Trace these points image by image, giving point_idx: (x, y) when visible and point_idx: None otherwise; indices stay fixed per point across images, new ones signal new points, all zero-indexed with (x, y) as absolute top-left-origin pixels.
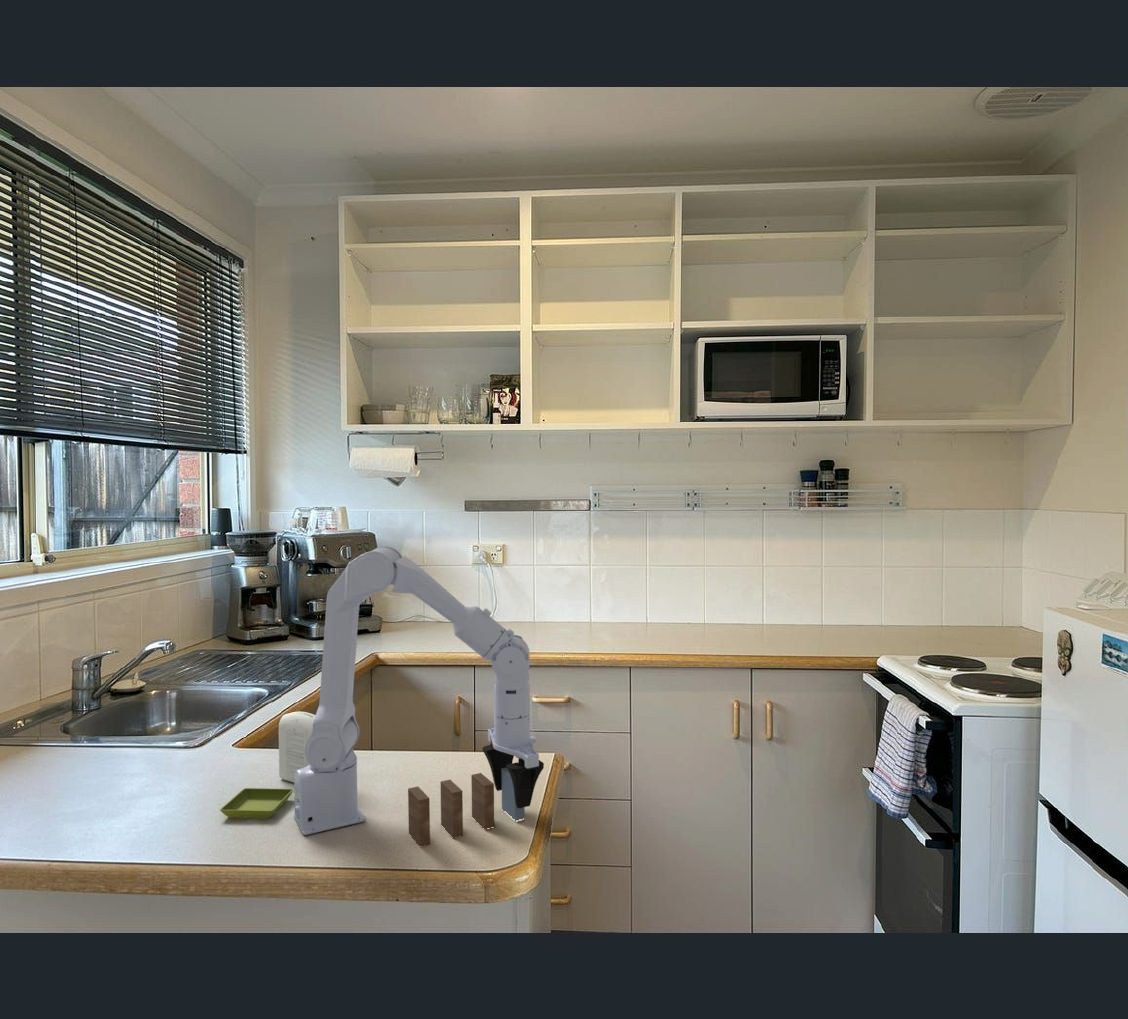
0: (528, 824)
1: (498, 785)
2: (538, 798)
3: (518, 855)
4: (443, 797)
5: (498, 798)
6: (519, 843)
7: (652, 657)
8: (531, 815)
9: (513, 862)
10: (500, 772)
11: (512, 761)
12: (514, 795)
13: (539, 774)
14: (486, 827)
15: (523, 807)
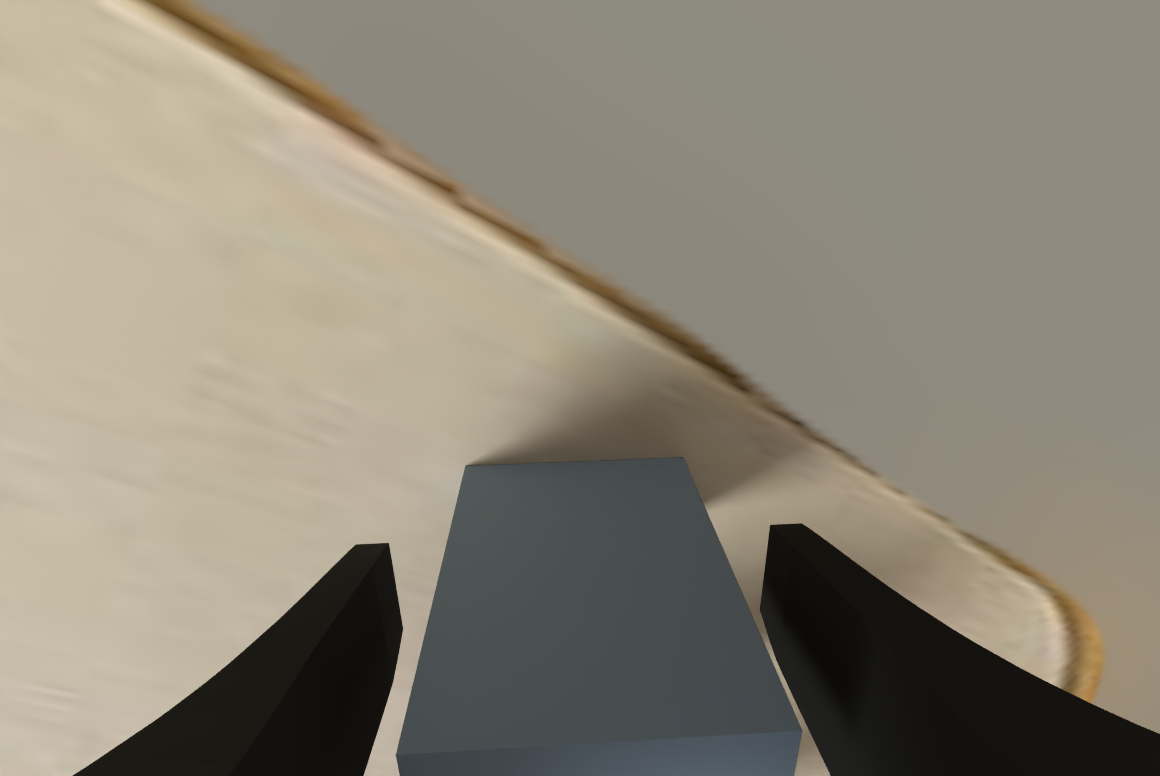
0: (749, 458)
1: (393, 659)
2: (377, 204)
3: (1016, 628)
4: None
5: (259, 477)
6: (917, 584)
7: None
8: (641, 388)
9: (1050, 666)
10: (344, 746)
11: (268, 721)
12: (803, 711)
13: (1147, 733)
14: None
15: (703, 515)
